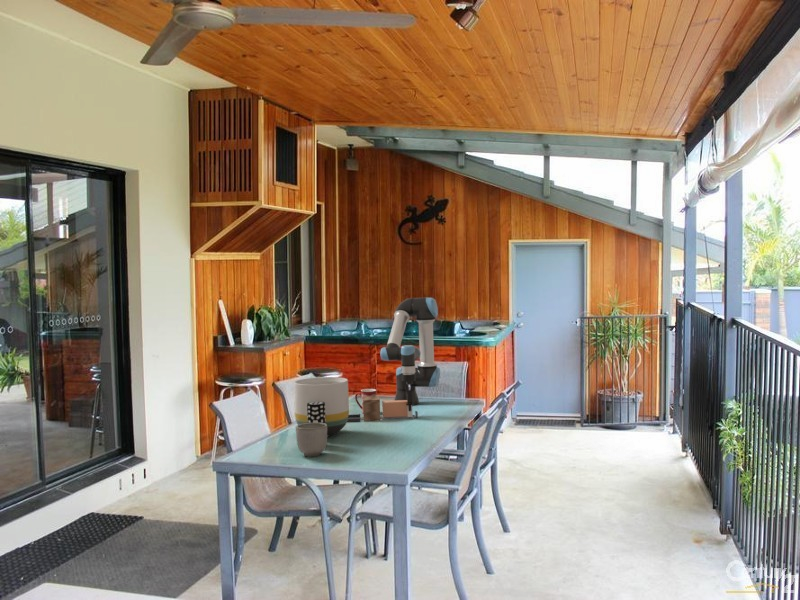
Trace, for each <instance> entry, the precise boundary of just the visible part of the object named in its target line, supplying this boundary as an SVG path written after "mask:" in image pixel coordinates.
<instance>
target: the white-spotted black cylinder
mask: <svg viewBox="0 0 800 600" xmlns="http://www.w3.org/2000/svg"><path fill="white" fill-rule="evenodd" d="M307 420H308V423H325V424H326V419H325V402H309V403H307Z"/></svg>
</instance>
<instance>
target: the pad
mask: <svg viewBox="0 0 800 600" xmlns="http://www.w3.org/2000/svg"><path fill="white" fill-rule="evenodd" d="M400 420H402V421H403V420H414V418H395V419H381V421H400Z"/></svg>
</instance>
